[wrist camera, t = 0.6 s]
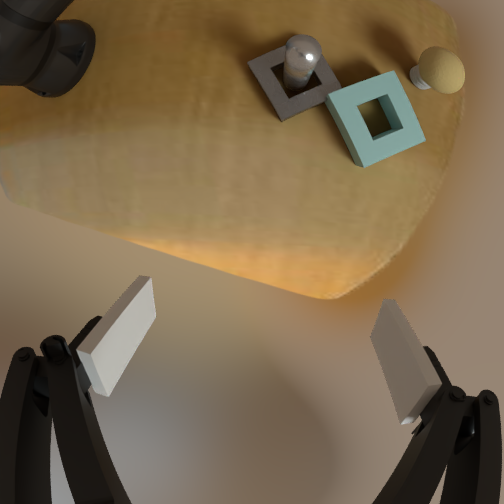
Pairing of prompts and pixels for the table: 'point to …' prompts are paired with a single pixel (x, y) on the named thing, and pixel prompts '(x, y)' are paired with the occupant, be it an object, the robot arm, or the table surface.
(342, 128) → the socket
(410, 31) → the table surface
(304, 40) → the pin
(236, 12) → the table surface
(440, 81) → the light bulb
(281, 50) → the mount
